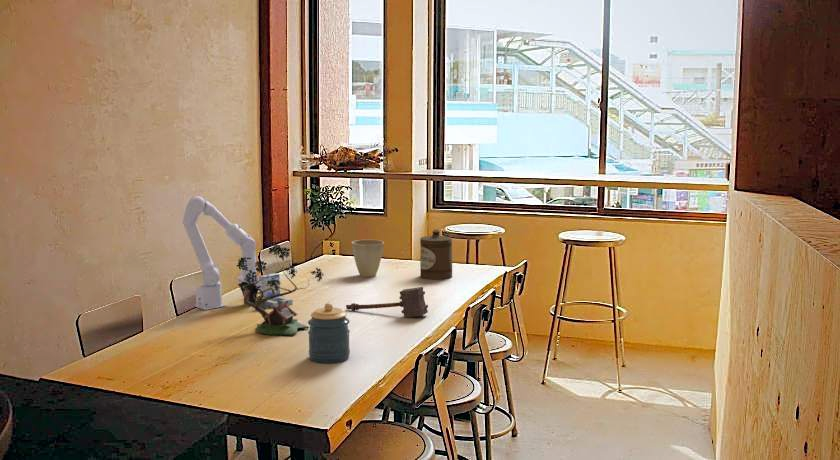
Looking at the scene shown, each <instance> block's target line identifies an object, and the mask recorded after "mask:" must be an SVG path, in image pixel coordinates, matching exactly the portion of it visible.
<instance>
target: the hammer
mask: <svg viewBox="0 0 840 460" xmlns="http://www.w3.org/2000/svg"><path fill="white" fill-rule="evenodd" d="M425 294H426V291H425V290H424V287H423V286H421V287H420V286H419V287H412V288H404V289H402V290H401V291H399V295H400V296H398V297H399V300H400V301H399V302H390V303H389V302H388V303H387V302H386V303H375V304H374V303H373V304H372V303H371V304H358V303H351V304H346V305H345V306H346V310H351V311H352V312H353V311H354V310H355V311H359V310H369V309H383V308H386V309H387V308H395V307H400V308H402V310H401V314H403V318H406V319H408V318H415V317H422V316H424V315H426V314H428V313H429V311H428V308H429V304H426V302H425V296H424V295H425Z"/></svg>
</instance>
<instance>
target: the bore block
mask: <svg viewBox="0 0 840 460" xmlns="http://www.w3.org/2000/svg"><path fill="white" fill-rule="evenodd" d="M286 300H287V301H288V303H287V305H288V306H293V304H294V303H293V302H294V301H293V299H291V298H288V297H284V296H279V297H276V298H273V299H270V300H267V308H271V309H273V306H274V307H275V306H276V307H278V303H277V301H283V303H282V305H283V304H284V303H285V302H286Z"/></svg>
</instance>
